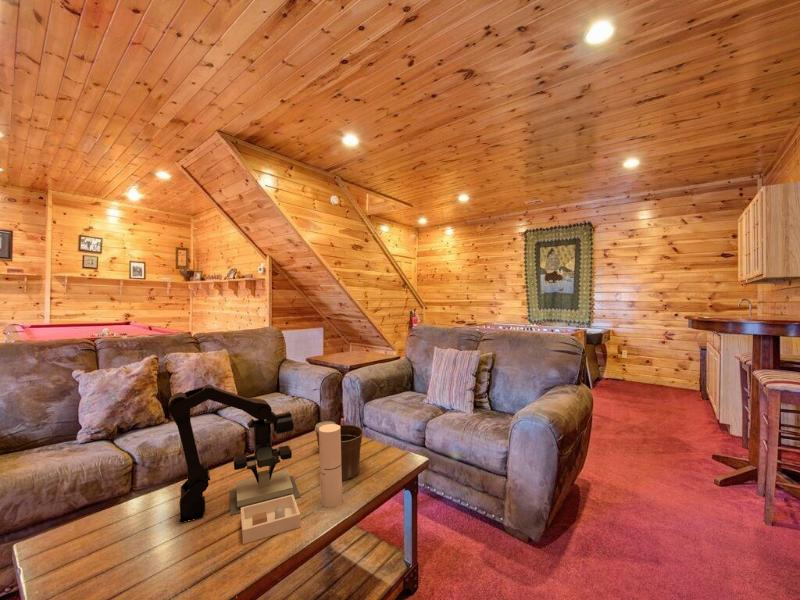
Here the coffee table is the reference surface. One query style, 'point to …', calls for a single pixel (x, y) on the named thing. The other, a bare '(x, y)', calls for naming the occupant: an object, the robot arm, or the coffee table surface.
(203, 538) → the coffee table surface
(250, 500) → the lid
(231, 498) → the mat
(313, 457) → the coffee table surface
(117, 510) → the coffee table surface
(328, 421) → the disposable coffee cup
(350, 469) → the plant pot
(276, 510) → the box
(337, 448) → the cylindrical container
